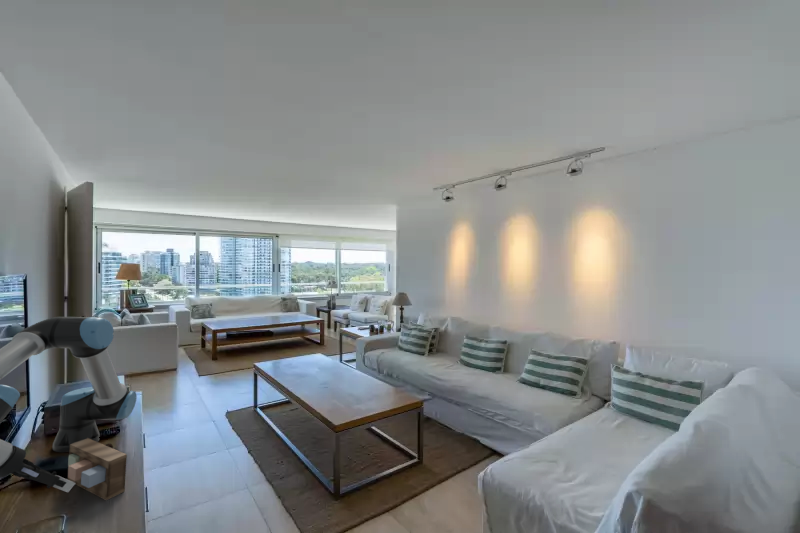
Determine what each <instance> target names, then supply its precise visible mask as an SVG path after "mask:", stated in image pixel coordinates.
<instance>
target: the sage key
mask: <svg viewBox="0 0 800 533" xmlns="http://www.w3.org/2000/svg"><path fill="white" fill-rule="evenodd" d="M67 460H68V462H67V467H68V466H69V465H72V464H74V463H77V462H79V461H80V456H79V455H77V454H74V453H73V454H70V455H69V454H68V459H67Z"/></svg>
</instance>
